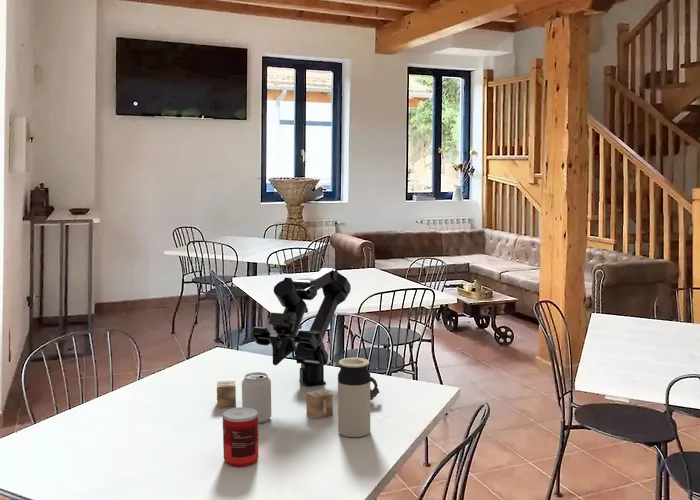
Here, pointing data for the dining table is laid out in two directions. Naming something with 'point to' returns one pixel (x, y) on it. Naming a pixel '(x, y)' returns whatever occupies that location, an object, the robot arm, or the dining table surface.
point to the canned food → (240, 436)
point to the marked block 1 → (226, 394)
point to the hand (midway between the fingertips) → (274, 364)
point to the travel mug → (354, 397)
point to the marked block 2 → (319, 404)
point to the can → (257, 394)
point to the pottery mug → (375, 391)
